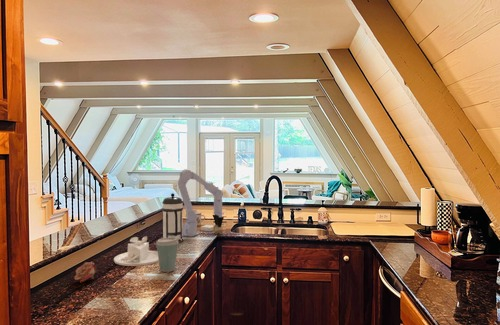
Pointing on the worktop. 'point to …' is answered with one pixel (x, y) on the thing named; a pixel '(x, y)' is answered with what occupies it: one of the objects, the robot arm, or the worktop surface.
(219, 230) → the brass cube
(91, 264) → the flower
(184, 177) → the robot arm
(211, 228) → the ceramic plinth
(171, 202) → the coffee press
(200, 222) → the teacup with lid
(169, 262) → the disposable coffee cup
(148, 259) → the dish
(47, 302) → the worktop surface
